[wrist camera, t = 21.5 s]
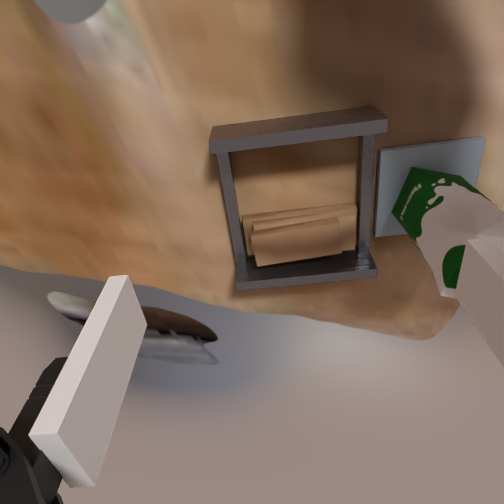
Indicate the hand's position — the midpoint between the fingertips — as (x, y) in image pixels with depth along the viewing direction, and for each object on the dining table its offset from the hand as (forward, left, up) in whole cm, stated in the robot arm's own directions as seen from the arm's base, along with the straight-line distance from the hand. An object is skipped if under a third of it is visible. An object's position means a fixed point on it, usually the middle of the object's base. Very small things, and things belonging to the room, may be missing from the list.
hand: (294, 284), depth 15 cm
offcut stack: (+19, +3, -37) cm, 41 cm away
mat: (+15, +20, -37) cm, 45 cm away
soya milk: (+15, +20, -36) cm, 44 cm away
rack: (+14, +3, -37) cm, 39 cm away
